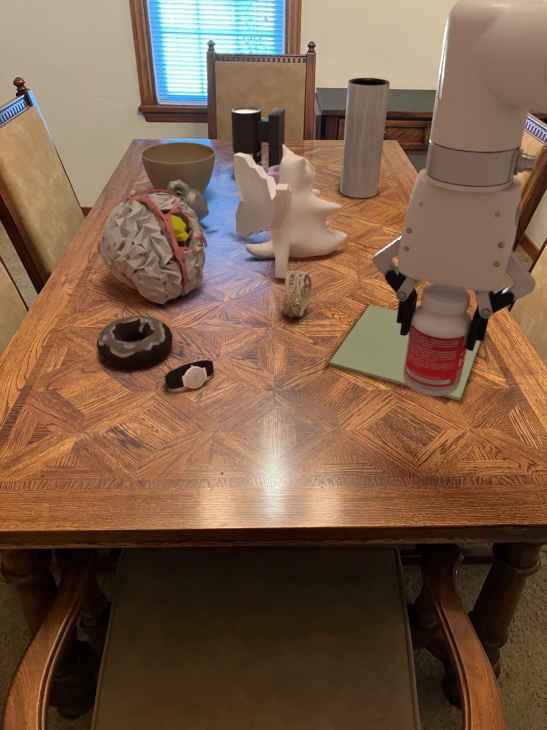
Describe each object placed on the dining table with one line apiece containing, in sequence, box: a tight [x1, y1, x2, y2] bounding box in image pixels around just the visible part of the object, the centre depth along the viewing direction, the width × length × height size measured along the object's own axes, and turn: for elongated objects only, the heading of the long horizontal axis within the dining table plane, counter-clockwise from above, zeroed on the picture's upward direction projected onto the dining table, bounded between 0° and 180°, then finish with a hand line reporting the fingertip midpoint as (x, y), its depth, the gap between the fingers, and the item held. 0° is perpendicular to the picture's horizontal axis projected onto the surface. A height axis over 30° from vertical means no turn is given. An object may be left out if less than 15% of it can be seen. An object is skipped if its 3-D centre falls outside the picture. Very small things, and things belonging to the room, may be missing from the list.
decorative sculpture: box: [97, 188, 208, 305], centre depth 105 cm, size 19×21×20 cm
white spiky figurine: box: [232, 143, 348, 279], centre depth 116 cm, size 25×21×21 cm
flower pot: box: [140, 141, 216, 196], centre depth 145 cm, size 18×18×12 cm
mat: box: [328, 304, 482, 402], centre depth 92 cm, size 20×20×1 cm
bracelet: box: [281, 269, 313, 318], centre depth 99 cm, size 4×8×8 cm, turn 166°
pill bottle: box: [403, 283, 473, 397], centre depth 61 cm, size 6×6×11 cm
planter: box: [339, 77, 391, 199], centre depth 146 cm, size 10×10×27 cm
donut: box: [96, 315, 174, 369], centre depth 90 cm, size 12×12×4 cm
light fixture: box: [230, 106, 286, 179], centre depth 158 cm, size 10×14×18 cm
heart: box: [167, 180, 210, 223], centre depth 130 cm, size 10×10×12 cm
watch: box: [164, 359, 215, 390], centre depth 84 cm, size 8×5×4 cm, turn 126°
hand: (438, 335), depth 60 cm, fingers closed on pill bottle, 6 cm apart
